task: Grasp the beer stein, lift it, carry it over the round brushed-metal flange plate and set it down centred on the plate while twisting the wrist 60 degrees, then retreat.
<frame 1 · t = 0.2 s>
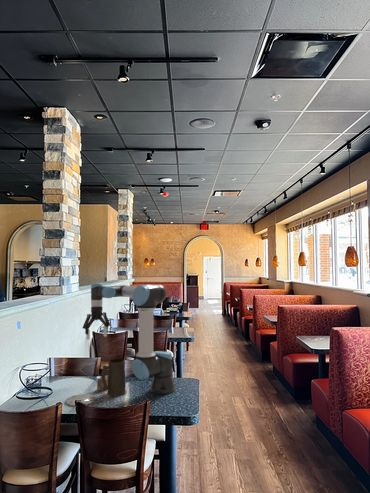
hand: (96, 337, 255), 28 cm above the table, fingers open, 13 cm apart
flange: (81, 401, 214), on the table
menu block: (105, 388, 235), on the table
beer stein: (113, 394, 225), on the table
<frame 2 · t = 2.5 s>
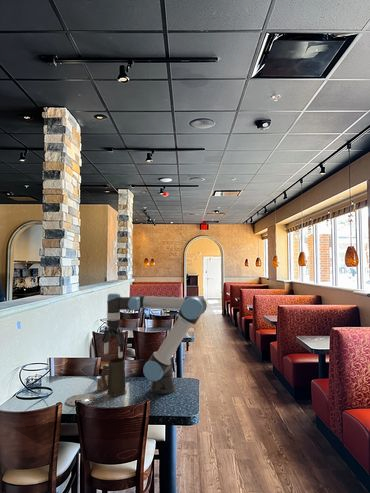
hand: (113, 355, 226), 23 cm above the table, fingers open, 13 cm apart
nothing on the table moved.
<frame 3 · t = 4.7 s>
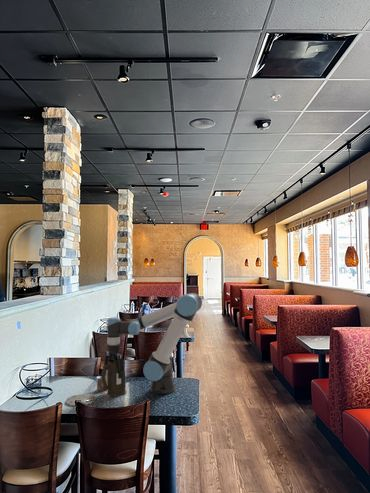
hand: (113, 382, 226), 7 cm above the table, fingers closed on beer stein, 9 cm apart
beer stein: (113, 394, 225), on the table, touching gripper
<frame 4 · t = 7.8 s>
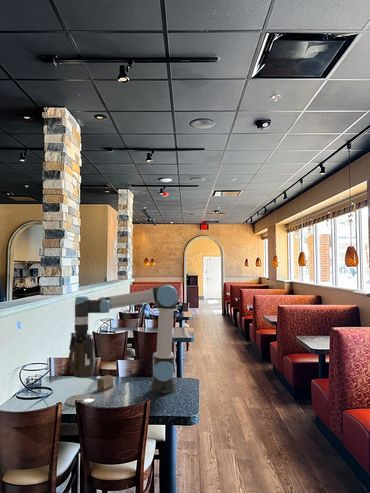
hand: (80, 363, 215), 21 cm above the table, fingers closed on beer stein, 9 cm apart
beer stein: (80, 376, 215), point 14 cm above the table, touching gripper
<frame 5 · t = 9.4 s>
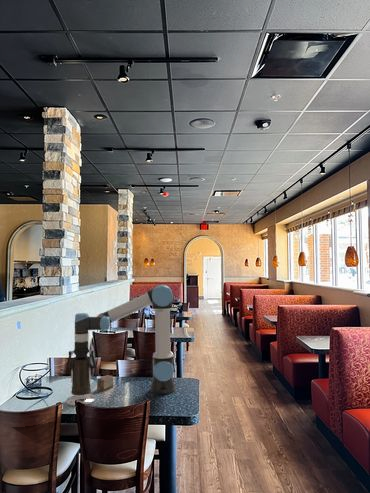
hand: (81, 381, 215), 11 cm above the table, fingers closed on beer stein, 9 cm apart
beer stein: (80, 394, 214), point 4 cm above the table, touching gripper
when the fingers open (9 cm above the table, at t = 10.7 s): beer stein drops 1 cm, resting on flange.
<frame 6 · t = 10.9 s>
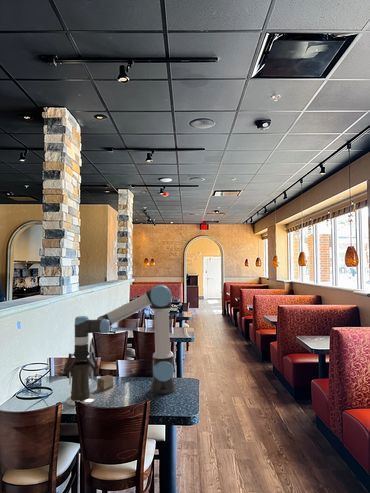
hand: (81, 382, 215), 10 cm above the table, fingers open, 11 cm apart
beer stein: (80, 399, 214), point 1 cm above the table, touching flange
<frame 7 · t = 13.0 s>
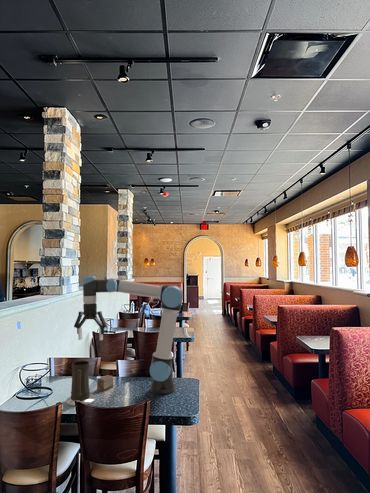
hand: (90, 339, 221), 33 cm above the table, fingers open, 13 cm apart
nothing on the table moved.
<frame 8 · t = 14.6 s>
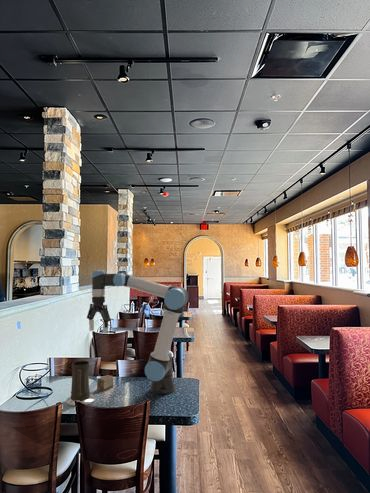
hand: (98, 331, 227), 37 cm above the table, fingers open, 13 cm apart
nothing on the table moved.
at the end: beer stein 0.2 cm from the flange (horizontally); beer stein tilted 0°; beer stein touching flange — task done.
